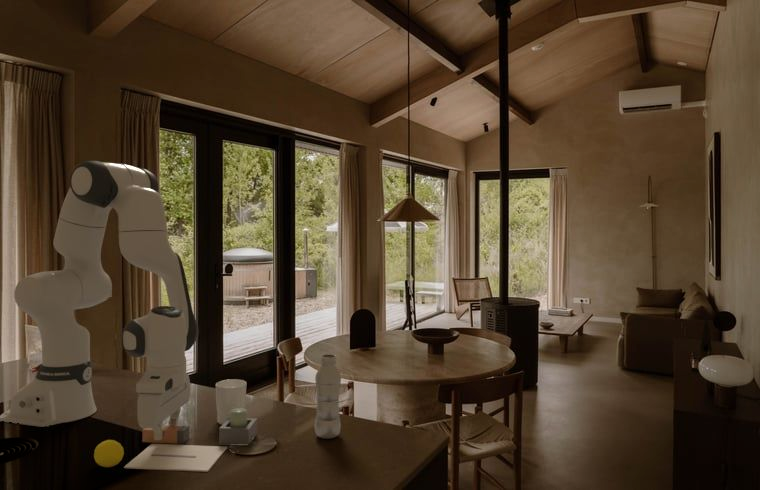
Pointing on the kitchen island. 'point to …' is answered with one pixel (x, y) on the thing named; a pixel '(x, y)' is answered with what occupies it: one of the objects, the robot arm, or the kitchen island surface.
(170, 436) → the block
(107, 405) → the kitchen island surface
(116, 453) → the lemon
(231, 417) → the button
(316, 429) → the plastic bottle
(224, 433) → the button housing
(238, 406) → the white cup
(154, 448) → the paper
